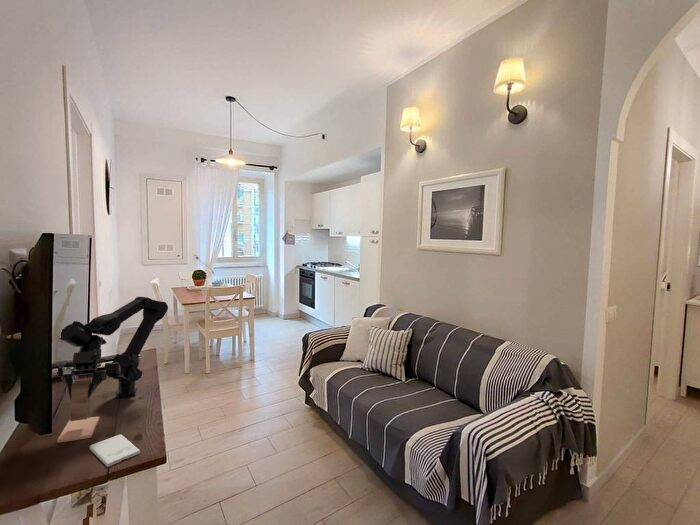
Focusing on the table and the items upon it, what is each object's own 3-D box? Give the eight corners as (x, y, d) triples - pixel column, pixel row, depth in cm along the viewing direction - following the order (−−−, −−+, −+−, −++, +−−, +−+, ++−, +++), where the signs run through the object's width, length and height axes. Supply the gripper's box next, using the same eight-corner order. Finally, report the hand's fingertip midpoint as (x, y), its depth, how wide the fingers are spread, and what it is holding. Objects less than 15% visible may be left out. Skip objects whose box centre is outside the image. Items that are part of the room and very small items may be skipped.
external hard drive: (121, 438, 105) (140, 455, 98) (89, 450, 98) (107, 469, 91) (121, 433, 105) (140, 449, 98) (89, 445, 98) (107, 463, 91)
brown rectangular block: (74, 415, 108) (75, 381, 107) (89, 413, 109) (90, 379, 109) (70, 421, 104) (71, 386, 103) (86, 419, 106) (87, 384, 105)
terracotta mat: (69, 422, 110) (69, 420, 110) (99, 418, 114) (99, 416, 114) (57, 442, 100) (57, 440, 100) (90, 437, 103) (90, 435, 103)
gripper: (48, 342, 105) (33, 392, 96) (120, 338, 113) (113, 384, 104) (56, 358, 112) (43, 406, 103) (123, 354, 121) (116, 398, 111)
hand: (79, 398), depth 105 cm, fingers closed on brown rectangular block, 4 cm apart
